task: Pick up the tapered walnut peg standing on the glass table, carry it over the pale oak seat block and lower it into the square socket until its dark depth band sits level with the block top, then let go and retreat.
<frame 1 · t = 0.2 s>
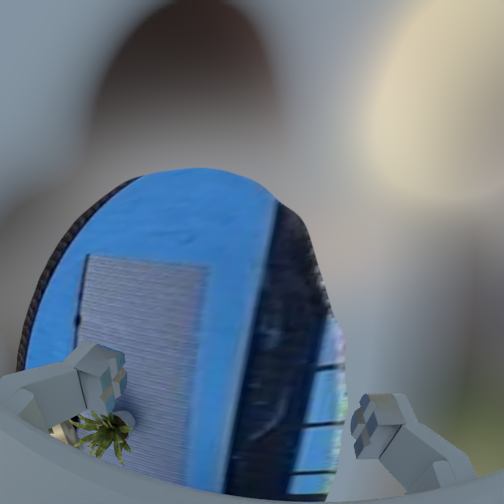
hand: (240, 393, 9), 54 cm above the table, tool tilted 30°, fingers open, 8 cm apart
house plant: (122, 415, 57), on the table
seat block: (54, 420, 56), on the table
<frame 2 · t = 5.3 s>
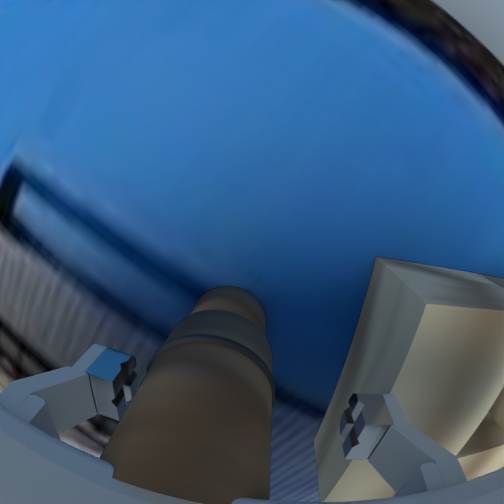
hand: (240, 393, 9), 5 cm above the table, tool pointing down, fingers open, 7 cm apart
peg: (228, 320, 14), on the table
seat block: (470, 368, 14), on the table
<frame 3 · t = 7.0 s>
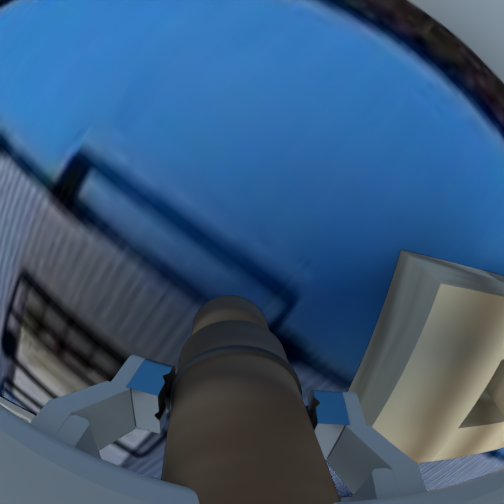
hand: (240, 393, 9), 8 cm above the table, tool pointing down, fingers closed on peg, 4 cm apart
house plant: (353, 503, 23), on the table
peg: (229, 329, 14), point 3 cm above the table, tilted 12°, touching gripper
seat block: (473, 353, 16), on the table
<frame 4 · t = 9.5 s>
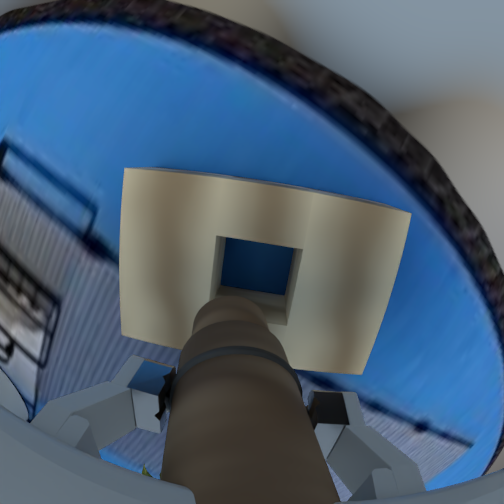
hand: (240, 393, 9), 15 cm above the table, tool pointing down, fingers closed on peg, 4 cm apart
peg: (230, 329, 14), point 10 cm above the table, tilted 10°, touching gripper
seat block: (257, 259, 23), on the table
when the fingers open (7 cm above the table, at t = 11.8 s): peg drops 2 cm, resting on seat block.
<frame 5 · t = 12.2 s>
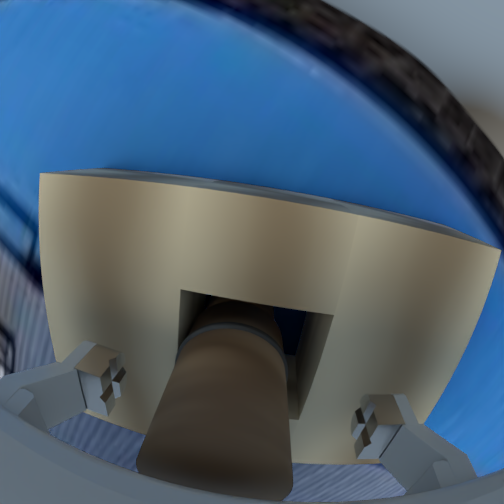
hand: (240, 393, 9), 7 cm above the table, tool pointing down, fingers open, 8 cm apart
peg: (240, 311, 15), resting on seat block
seat block: (255, 307, 15), on the table
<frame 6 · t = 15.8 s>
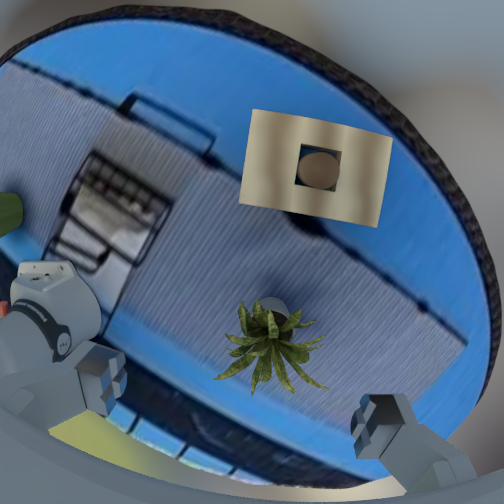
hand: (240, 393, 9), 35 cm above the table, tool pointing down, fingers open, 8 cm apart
plant pot: (14, 210, 46), on the table
house plant: (279, 310, 47), on the table
peg: (308, 169, 40), resting on seat block
seat block: (313, 167, 40), on the table
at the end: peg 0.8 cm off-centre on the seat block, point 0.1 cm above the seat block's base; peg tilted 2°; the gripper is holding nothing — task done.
